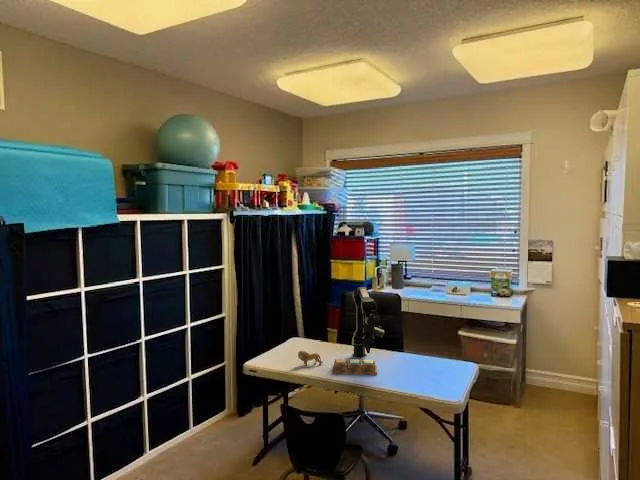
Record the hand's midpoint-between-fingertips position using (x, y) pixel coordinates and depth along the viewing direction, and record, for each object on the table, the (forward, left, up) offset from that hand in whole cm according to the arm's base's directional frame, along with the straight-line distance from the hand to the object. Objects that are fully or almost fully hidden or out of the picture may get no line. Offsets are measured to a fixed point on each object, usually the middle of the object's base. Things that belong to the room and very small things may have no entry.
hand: (368, 351), depth 240 cm
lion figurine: (+19, -28, -11) cm, 35 cm away
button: (+5, -5, -8) cm, 11 cm away
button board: (+5, -5, -11) cm, 13 cm away
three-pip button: (+10, -11, -8) cm, 17 cm away
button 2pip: (0, 0, -8) cm, 8 cm away
